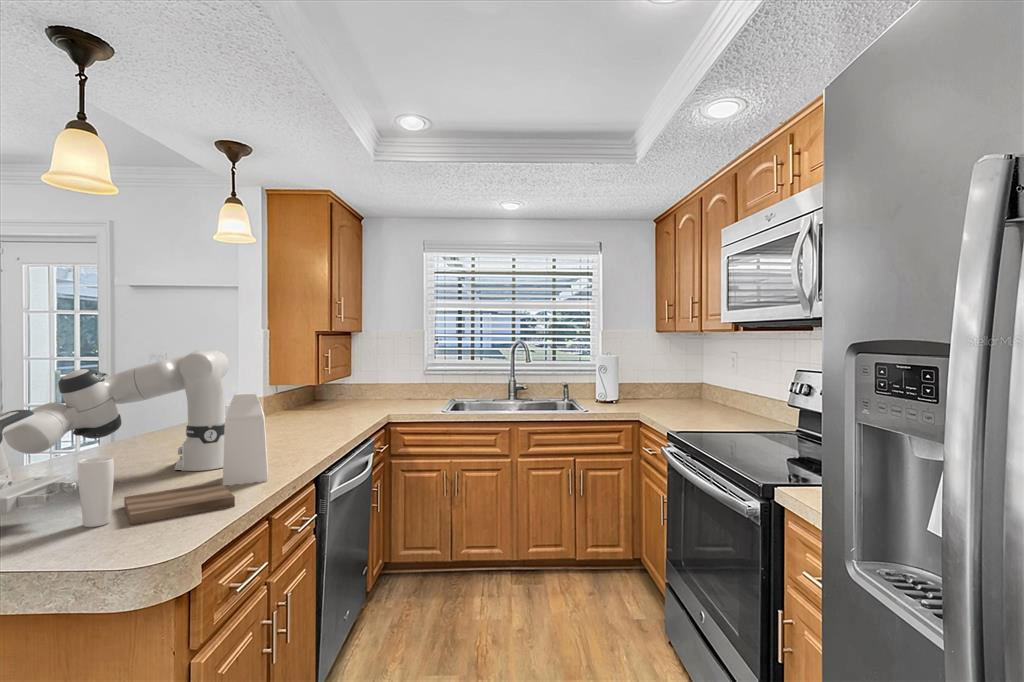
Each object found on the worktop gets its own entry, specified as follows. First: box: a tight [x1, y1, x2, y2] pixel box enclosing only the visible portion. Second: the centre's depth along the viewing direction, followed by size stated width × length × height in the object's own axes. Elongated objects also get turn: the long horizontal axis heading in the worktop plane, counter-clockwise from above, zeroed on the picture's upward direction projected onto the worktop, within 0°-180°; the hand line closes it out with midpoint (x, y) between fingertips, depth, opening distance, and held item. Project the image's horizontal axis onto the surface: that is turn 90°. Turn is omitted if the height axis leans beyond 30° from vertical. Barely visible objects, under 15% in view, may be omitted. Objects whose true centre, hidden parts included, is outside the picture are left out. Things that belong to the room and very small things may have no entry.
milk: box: [222, 392, 269, 487], centre depth 167 cm, size 12×12×26 cm
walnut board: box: [123, 481, 236, 526], centre depth 141 cm, size 18×22×2 cm
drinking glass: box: [77, 456, 115, 528], centre depth 128 cm, size 7×7×15 cm
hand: (61, 492), depth 126 cm, fingers open, 8 cm apart
